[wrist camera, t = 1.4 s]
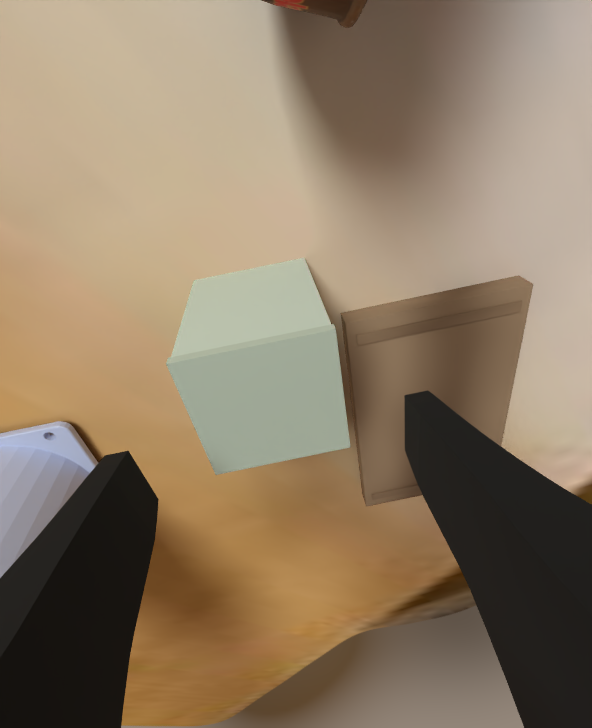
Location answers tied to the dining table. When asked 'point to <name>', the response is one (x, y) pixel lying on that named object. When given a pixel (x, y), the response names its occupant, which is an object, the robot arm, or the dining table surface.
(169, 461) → the dining table surface
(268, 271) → the block
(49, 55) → the dining table surface
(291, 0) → the tin
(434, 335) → the board
